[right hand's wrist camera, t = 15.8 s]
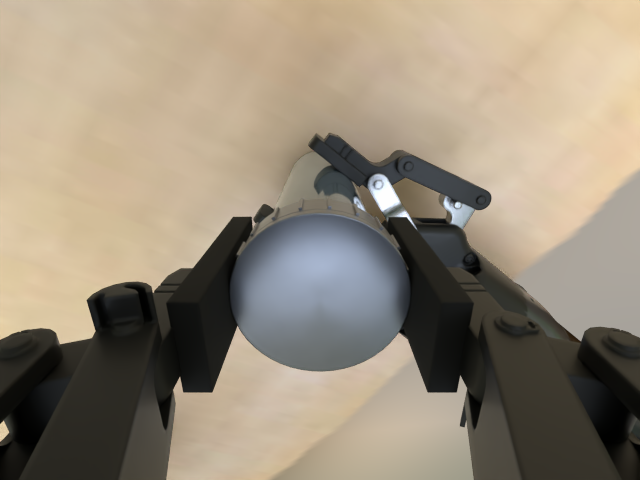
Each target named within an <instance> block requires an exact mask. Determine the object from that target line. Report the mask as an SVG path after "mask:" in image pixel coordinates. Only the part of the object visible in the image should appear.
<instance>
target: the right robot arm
mask: <svg viewBox="0 0 640 480" xmlns="http://www.w3.org/2000/svg"><path fill="white" fill-rule="evenodd" d="M252 230H253V228H252V217H233V218H232V219H231V221H230V222H229V223H228V224H227V226H226V227H225V228H224V229H223V231H222V232H221V233H220V235H219V236H218V237H217V238H216V240H215V241H214V242H213V243H212V245H211V246H210V247H209V249H208V250H207V251H206V252H205V254H204V255H203V256H202V258H201V259H200V260H199V261H198V263H197V264H196V265H195V266H194V268H181V269H179V270H177V271H175V272H174V273H172V274H170V275H168V276H167V278H166V279H165V280H164V281H163V282H162V283H161V286H158V288H157V289H156V290H155V291H154V293H153V292H152V288H151V286H150V285H148V284H147V283H142V282H125V283H120V284H115V285H112V286H109V287H106V288H103V289H101V290H99V291H98V292H96V293H94V294H93V295H91V296H90V297H89V298H88V299H87V303H88V306H89V310H90V313H91V317H92V320H93V323H94V327H95V330H96V332H95V334H94V336H93V338H91V339H86V340H81V341H76V342H71V343H65V344H60V343H59V340H58V338H57V335H56V333H55V332H54V331H52V330H51V329H42V328H40V329H32V330H24V331H21V332H17V333H14V334H11V335H9V336H8V337H6V338H3V339H1V340H0V424H1V423H2V422H3V420H4V422H5V424H6V426H7V428H8V430H9V434H8V435H7V436H6V437H5V438H4V439H3V440H2V441H1V442H0V480H166V477H167V469H168V461H169V453H170V445H171V437H172V429H173V421H174V412H175V397H174V393H173V389H174V387H175V385H176V383H177V381H178V379H179V377H181V383H182V388H183V392H213V389H214V387H215V384H216V381H217V379H218V376H219V373H220V371H221V368H222V365H223V363H224V360H225V357H226V355H227V352H228V349H229V347H230V344H231V341H232V339H233V336H234V333H235V331H236V328H237V324H236V322H235V319H234V316H233V314H232V311H231V306H230V300H229V282H230V277H231V273H232V270H233V267H234V264H235V262H236V260H237V257H235V256H236V254H237V252H238V251H239V249H240V247H241V245H242V244H243V242H245V243H246V241H247V240H248V238H249V236H250V233H251V232H252ZM387 231H388V233H389V234H390V236H391V235H392V234H393V236H394V238H395V239H396V241H397V243H398V245H399V246H400V248H401V249H400V250H399V252H400V254H401V256H402V257H403V259H404V261H405V263H406V265H407V267H408V268H409V275H410V281H411V301H410V308H409V311H408V314H407V318H406V320H405V322H404V324H403V328H404V330H405V333H406V336H407V338H408V341H409V344H410V346H411V349H412V352H413V354H414V357H415V360H416V362H417V365H418V368H419V370H420V373H421V376H422V378H423V381H424V384H425V386H426V389H427V392H457V388H458V383H459V378H460V375H461V377H462V379H463V381H464V383H465V385H466V387H467V393H466V398H465V402H464V407H463V412H462V417H461V422H460V426H461V427H465V423H466V420H467V428H468V436H469V443H470V451H471V460H472V468H473V476H474V480H640V440H639V439H638V438H637V437H636V436H635V435H634V434H633V432H632V428H633V426H634V424H635V422H636V420H637V419H638V420H639V421H640V338H639V337H637V336H634V335H632V334H631V333H629V332H626V331H623V330H621V331H620V330H619V329H615V328H605V327H593V328H589V329H588V330H586V331H585V332H584V335H583V338H582V341H581V343H578V342H573V341H567V340H562V339H557V338H552V337H548V336H547V335H546V333H545V331H544V330H543V329H542V328H541V326H540V325H539V324H538V323H536V322H535V321H533V320H532V319H530V318H528V317H526V316H523V315H521V314H518V313H514V312H510V311H505V310H504V309H503V308H502V307H501V306H500V305H499V304H498V303H497V301H496V300H495V299H494V298H493V297H492V296H491V295H490V294H489V293H488V292H486V289H485V288H484V287H483V286H482V285H480V283H479V282H478V280H477V279H476V278H475V277H474V276H473V275H472V274H470V273H469V272H467V271H465V270H463V269H462V268H460V267H446V266H445V265H444V264H443V263H442V261H441V260H440V259H439V257H438V256H437V255H436V254H435V252H434V251H433V250H432V248H431V247H430V246H429V245H428V243H427V242H426V241H425V240H424V238H423V237H422V236H421V234H420V233H419V232H418V231H417V229H416V228H415V227H414V225H413V224H412V223H411V222H410V220H409V219H408V218H407V217H388V229H387Z"/></svg>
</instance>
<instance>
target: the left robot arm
mask: <svg viewBox="0 0 640 480" xmlns="http://www.w3.org/2000/svg"><path fill="white" fill-rule="evenodd" d="M308 146H309V147H310V148H311V149H312V150H314V151H315V152H316V153H317V154H319V155H320V156H321V157H322V158H324V159H325V160H326V161H327V162H329V163H330V164H331V165H332V166H334V167H335V168H336V169H337V170H339V171H340V172H341V173H342V174H344V175H345V176H347V177H348V178H349V179H350V180H351V181H352V182H354V183H355V184H356V185H358V186H359V187H360V186H361V185H364V186H365V187H366V188H367V189H369V191H370V193H371V194H372V196H373V198H374V199H375V201H376V203H377V204H378V206H379V208H380V209H381V211H382V213H383V215H384V216H385V218H386V220H387V221H388V217H407V218H408V219H409V220H410V222H411V223H412V224H413V225H414V227H415V228H416V229H417V231H418V232H419V233H420V234H421V236H422V237H423V238H424V240H425V241H426V242H427V243H428V245H429V246H430V247H431V248H432V250H433V251H434V252H435V254H436V255H437V256H438V257H439V259H440V260H441V261H442V263H443V264H444V265H445V266H446V267H460V268H462V269H463V270H465V271H467V272H469V273H470V274H472V275H473V276H474V277H475V278H476V279H477V280H478V282H479V283H480V285H482V286H483V287H484V288H485V289H486V292H488V293H489V294H490V295H491V296H492V297H493V298H494V299H495V300H496V301H497V303H498V304H499V305H500V306H501V307H502V308H503V309H504V310H505V311H510V312H514V313H518V314H521V315H523V316H526V317H528V318H530V319H532V320H533V321H535V322H536V323H538V324H539V325H540V326H541V328H542V329H543V330H544V331H545V333H546V335H547V336H548V337H552V338H557V339H562V340H567V341H573V342H578V343H581V341H579V340H578V339H577V338H576V337H575V336H573V335H572V334H571V333H570V332H568V331H567V330H566V329H565V328H564V327H562V326H561V325H560V324H559V323H557V322H556V321H555V319H554V318H553V317H552V316H551V315H550V313H549V312H548V311H547V310H546V309H545V308H544V307H543V306H542V305H541V304H540V303H539V302H538V301H536V300H535V299H534V298H533V297H531V296H530V295H529V294H528V293H527V292H526V290H524V288H523V287H521V286H520V285H518V284H516V283H514V282H513V281H512V280H511V279H510V278H508V277H507V276H506V275H505V274H504V273H502V272H501V271H500V270H499V269H497V268H496V267H495V266H494V265H493V264H491V263H490V262H489V261H488V260H487V259H485V258H484V257H483V256H482V255H480V254H479V253H478V252H477V251H476V250H474V249H473V248H472V247H471V246H470V245H469V244H468V241H467V238H466V234H465V232H464V231H463V228H464V227H465V225H466V223H467V222H468V220H469V219H470V217H471V216H472V214H473V212H474V211H475V209H476V210H482V209H485V208H486V207H487V206H488V205H489V204H490V202H491V194H490V193H489V192H488V191H486V190H484V189H482V188H480V187H479V186H477V185H475V184H473V183H471V182H469V181H466V180H464V179H462V178H460V177H458V176H456V175H454V174H452V173H450V172H447V171H445V170H443V169H441V168H439V167H437V166H435V165H433V164H430V163H428V162H426V161H424V160H422V159H420V158H418V157H416V156H414V155H411V154H409V153H407V152H405V151H403V150H397V151H395V152H393V153H392V154H391V156H390V157H388V158H387V159H385V160H383V161H382V162H379V163H373V162H370V161H368V160H367V159H366V158H365V157H363V156H362V155H361V154H360V153H359V152H357V151H356V150H355V149H354V148H352V147H351V146H350V145H349V144H348V143H346V142H345V141H344V140H343V139H342V138H340V137H339V136H338V135H335V134H331V133H329V134H328V135H327V137H326V138H325V139H323V138H322V137H321V136H319V135H318V134H315V135H314V137H313V138H312V140H311V141H310V142H309V145H308ZM405 177H406V178H408V179H410V180H412V181H415V182H417V183H419V184H421V185H423V186H425V187H428V188H430V189H432V190H434V191H436V192H439V193H441V194H440V196H439V203H440V205H441V206H442V207H444V208H445V209H446V211H447V216H446V219H436V218H410V216H409V215H408V213H407V211H406V209H405V208H404V206H403V205H402V203H401V202H400V200H399V198H398V196H397V194H396V193H395V191H394V189H393V187H392V186H391V185H393V184H395V183H396V182H398V181H400V180H402V179H403V178H405ZM273 211H274V209H273V208H271V207H270V206H268V205H266V204H263V205H262V207H261V208H260V209H259V211H258V212H257V214H256V215H255V217H254V219H253V220H254V222H255V223H257V222H258V223H259V224H260V223H261V222H262V221H263V220H264V219H265V218H266V217H267V216H269V215H270V214H272V213H273ZM387 221H384V222H383V223H382V225H383V227H384V228H385V229H386V230H387V229H388V222H387ZM399 333H400V334H402V335H403V336H404V337H405V338H407V336H406V333H405V330H404V328H403V326H402V328H401V329H400V331H399ZM407 339H408V338H407ZM632 432H633V434H634V435H635V436H636V437H637V438H638V439H639V440H640V421H639V420H638V419H637V420H636V422H635V424H634V426H633V428H632Z"/></svg>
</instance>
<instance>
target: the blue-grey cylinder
mask: <svg viewBox="0 0 640 480" xmlns="http://www.w3.org/2000/svg"><path fill="white" fill-rule="evenodd" d="M327 197H331V200H336V201H341V202H345V203H348V204H351V205H353V203H355V204H357V207H358V208H360V209H362V210H364V211H365V212H367V210H366V208H365V206H364V203H363V201H362V199H361V197H360V195H359V192H358V190H357V188H356V186H355V183H354V182H352V181H351V180H350V179H349V178H348V177H347V176H345V175H344V174H342V173H341V172H340V171H339V170H337V169H336V168H335V167H334V166H332V165H331V164H330V163H329V162H327V161H326V160H325V159H324V158H322V157H321V156H320V155H319V154H317V153H316V152H315V151H312V152H309V153H307V154H305V155H303V156H302V157H301V158H299V159H298V160H297V162H296V163H295V164H294V166H293V168H292V170H291V172H290V175H289V177H288V179H287V181H286V184H285V186H284V188H283V190H282V193H281V195H280V197H279V199H278V202H277V204H276V206H275V208H277V207H279V209H280V208H282V207H284V206H287V205H290V204H292V203H295V202H300V199H302V198H303V199H304V200H312V199H327ZM275 208H274V211H275ZM274 211H273V212H274ZM367 213H368V212H367Z"/></svg>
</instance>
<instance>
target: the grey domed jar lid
mask: <svg viewBox="0 0 640 480" xmlns="http://www.w3.org/2000/svg"><path fill="white" fill-rule="evenodd" d="M400 249H401V248H400V246H399V245H398V243H397V241H396V239H395V238H394V236H393V234H392V235H391V236H390V234H389V233H388V231H387V230H386V229H385V228H384V227H383V225H382V224H381V222H380V220H379V218H378V217H377V216H376V217H375V218H374V217H373V216H372V215H370V214H369V213H367V212H365V211H364V210H362V209H360V208H358V207H357V204H355V203H353V205H351V204H348V203H345V202H341V201H336V200H331V197H327V199H312V200H304V199H303V198H302V199H300V202H295V203H292V204H290V205H287V206H284V207H282V208H280V209H279V207H277V208H275V211H274V212H273V213H272V214H270V215H269V216H267V217H266V218H265V219H264V220H263V221H262V222H261V223H260V224H259V223H258V222H257V223H256V224H255V226H254V228H253V230H252V232H251V233H250V236H249V238H248V240H247V241H246V243H245V242H243V244H242V245H241V247H240V249H239V251H238V252H237V254H236V256H235V257H237V260H236V262H235V264H234V267H233V270H232V273H231V277H230V282H229V300H230V306H231V311H232V314H233V316H234V319H235V322H236V324H237V325H238V327H239V329H240V331H241V332H242V334H243V335H244V336H245V338H246V339H247V340H248V341H249V342H250V343H251V344H252V345H253V346H254V347H255V348H256V349H257V350H259V351H260V352H261V353H262V354H264V355H266V356H267V357H269V358H270V359H272V360H274V361H276V362H278V363H281V364H283V365H286V366H289V367H292V368H296V369H301V370H308V371H334V370H339V369H344V368H348V367H351V366H355V365H357V364H359V363H362V362H364V361H366V360H368V359H370V358H371V357H373V356H375V355H376V354H378V353H379V352H380V351H382V350H383V349H384V348H385V347H386V346H387V345H388V344H390V342H391V341H392V340H393V339H394V338H395V337H396V335H397V334H398V332H399V331H400V329H401V328H402V326H403V324H404V322H405V320H406V318H407V314H408V311H409V308H410V301H411V281H410V275H409V268H408V267H407V265H406V263H405V261H404V259H403V257H402V256H401V254H400V252H399V250H400Z"/></svg>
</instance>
